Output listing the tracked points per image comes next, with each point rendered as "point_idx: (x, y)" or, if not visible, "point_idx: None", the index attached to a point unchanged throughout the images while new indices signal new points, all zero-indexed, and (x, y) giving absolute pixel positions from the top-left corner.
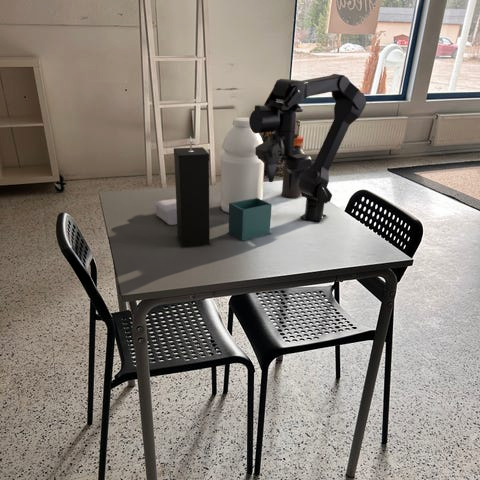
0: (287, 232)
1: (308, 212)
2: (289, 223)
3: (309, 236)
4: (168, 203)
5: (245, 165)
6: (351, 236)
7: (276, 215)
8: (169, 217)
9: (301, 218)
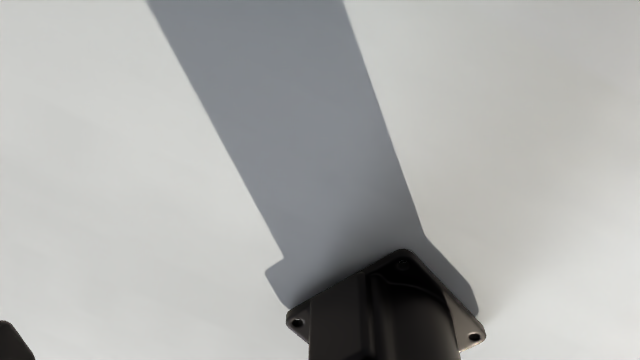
0: (154, 11)
1: (347, 317)
2: (356, 129)
3: (33, 137)
4: None
5: None
6: None
7: (584, 119)
8: None
9: (399, 250)
